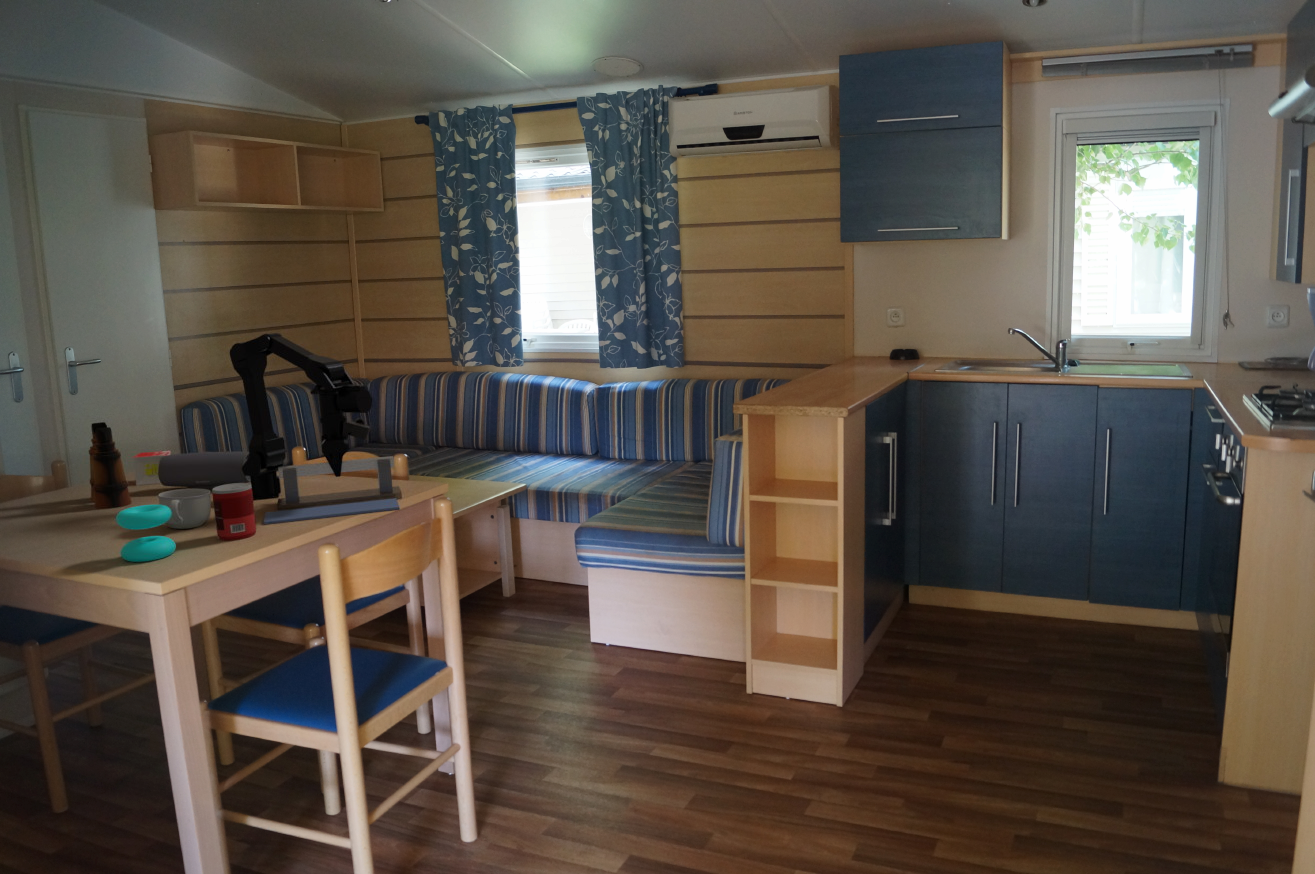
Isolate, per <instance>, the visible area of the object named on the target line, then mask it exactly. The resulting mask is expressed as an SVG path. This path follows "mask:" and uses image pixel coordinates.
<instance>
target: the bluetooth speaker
mask: <svg viewBox="0 0 1315 874" xmlns="http://www.w3.org/2000/svg"><path fill="white" fill-rule="evenodd" d="M248 458H249V451H200V452H188V453H187V452H184V453H176V454H174V453H173V454H171V455H167V456H163V457H161V459H160V461H159V468H158V477H159V480H160V482H161V483H160V484H161V485H162V486H164V487H175V488H177V487H178V488H179V487H180V488H181V487H182V488H188V489H207V490H210V491H212V489H213V488H215V487H217V486H221V485H226V484H233V483H249V484H250V483H251V480H250V476H245V475H244V473H243V471H242V466H243V465H244V464H245V462H246V461H247V459H248Z"/></svg>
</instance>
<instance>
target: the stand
mask: <svg viewBox="0 0 1315 874" xmlns="http://www.w3.org/2000/svg"><path fill="white" fill-rule="evenodd" d="M377 463H378V469H376V471H377V479H378V487H376V488H369V489H360V490H359V489H358V490H348V491H341V492H331V493H330V492H329V493H321V494H311V495H301V496H300V489H299V478H298V477H297V475H296V469H291V470H283V478H282V479H283V487H284V497H283V498H282V497H281V498H278V499H277V502H276V503H277V504H276V509H277V510H276V511H283V510H292V509H302V508H311V507H320V506H329V505H339V504H348V503H357V502H366V501H376V500H385V499H394V498H396V499H403V493H402V490H401V487H400V485H395V486H393V479H392V478H393V477H392V467H391V465H390V460H385V461H377Z"/></svg>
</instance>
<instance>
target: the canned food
mask: <svg viewBox="0 0 1315 874" xmlns="http://www.w3.org/2000/svg"><path fill="white" fill-rule="evenodd" d="M211 494H212V504H213V509H214V510H213V511H214V518H215V528H216V535H217V537H218V539H219V540H221V541H225V542H226V541H239V540H243V539H248V538H251V537H252V536H254V535H256V532H257V524H256V523H257V522H256V513H255V512H256V511H255V506H254V499H253V494H252V487H251V483H250V482H249V483H233V484H226V485H221V486H217V487H215V488H213V489H211Z"/></svg>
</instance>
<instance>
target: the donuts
mask: <svg viewBox="0 0 1315 874" xmlns="http://www.w3.org/2000/svg"><path fill="white" fill-rule="evenodd" d="M171 514H172V513H171V510H170V508H169V507H167V506H165V505H159V504H154V503H153V504H144V505H143V504H142V505H137V506H131V507H128V508H125V509H123V510H120V511H119V512H118V514H116V517H115V520H116V523H117V524H118V526H120V527H121V528H123V529H127V530H135V531H136V530H147V529H151V528H155V527H156V528H157V527H159V526H162V525H164V524H166V523H165V522H167V521H168V520H169V519H170V517H171ZM176 548H177V545H176V543H175V541H174V540H173V539H172V538H170V537H168V536H165V535H164V536H163V535H150V536H143V537H142V536H141V537H138V538H135V539H132V540H130V541H129V542H126V543H125V544H124V545H123V547H122V548H121V550H120V556H121V558H122V559H124V560H125V561H126V562H133V563H143V562H150V561H151V562H152V561H156V560H159V559H164V558H167V557H168V556H171V555H172V554H173V553H174V552H175V550H176Z"/></svg>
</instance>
